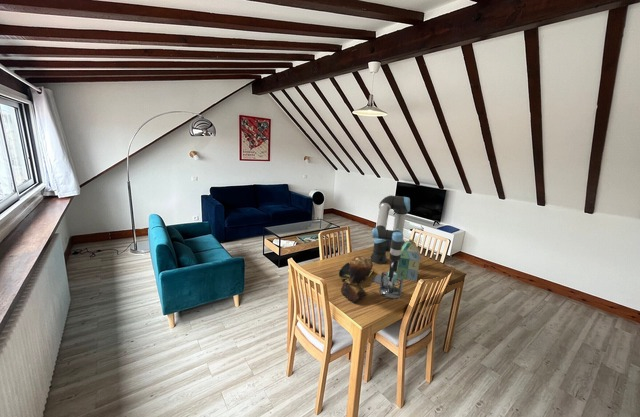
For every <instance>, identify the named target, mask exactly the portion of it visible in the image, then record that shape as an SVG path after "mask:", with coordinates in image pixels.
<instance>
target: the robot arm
mask: <svg viewBox="0 0 640 417" xmlns="http://www.w3.org/2000/svg"><path fill="white" fill-rule="evenodd" d="M378 209H379V210H378V217H377V222H376V226H375V227H373V228H372V231H371V232H372V234H371V236H372V238H373V239H374V240H373V250H372V252H371V256H370V258H369V259H370V260H371V261H372V263H374V264H378V265H385V264H386V263H387V262H388V258H389V259H390V260H391V261H390V264H389V270H388V271H389V276H388V275H387V277H389V282H388V285H391V286H392V283H393V274H394V271H395V272H397V268H398V261H399V260H400V257H401V255H400V254H401V252H402V251H401V249H402V246H403V245H404V244H405V243H406V241H404V228H405V227H404V226H405V221H406V215H408V213H409V212H410V211H411V199H410V197H407V196H400V195H387V196H386V197H383V199H381V201H379V205H378ZM391 210H393V213H394V220H393V226H392V228H393V229H387V225H388V221H389V220H388V219H389V215H390V214H389V212H390V211H391ZM387 253H389V257H387Z"/></svg>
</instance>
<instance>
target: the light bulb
mask: <svg viewBox="0 0 640 417" xmlns="http://www.w3.org/2000/svg"><path fill="white" fill-rule="evenodd" d="M387 273H388V275H387V276H385V279H387V282H389V277H388V276H389V270H388V271H387ZM397 274H398V273H397V272H395V271H394V274H393V283H392V284H395V285H396V286H399V285H400V282H398V280H397Z"/></svg>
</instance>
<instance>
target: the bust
mask: <svg viewBox="0 0 640 417" xmlns="http://www.w3.org/2000/svg"><path fill="white" fill-rule="evenodd" d="M373 263H374V262H372V261H371V260H370V258H369V257H367V256H364V255H357V256H354V257H353V258H351V260H350V262H349V266H348V268H349V270H350V273H351V275H350V277H349V279H344V281H343V283H342V286H341V288H340V292H341V295H342V296H343V297H344V298H345V299H346V300H347V301H349V302H350V303H353V304H356V303H358V302H359V301H361V300H364V299H365V297H366V296H367V292H366V291H365V290H364V289H363V287H362V286H361V283H362V282H365V281H367V279H368V278H369V277H368V276H369V274H370V272H371V271H372V270H373V267H374V264H373Z"/></svg>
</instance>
